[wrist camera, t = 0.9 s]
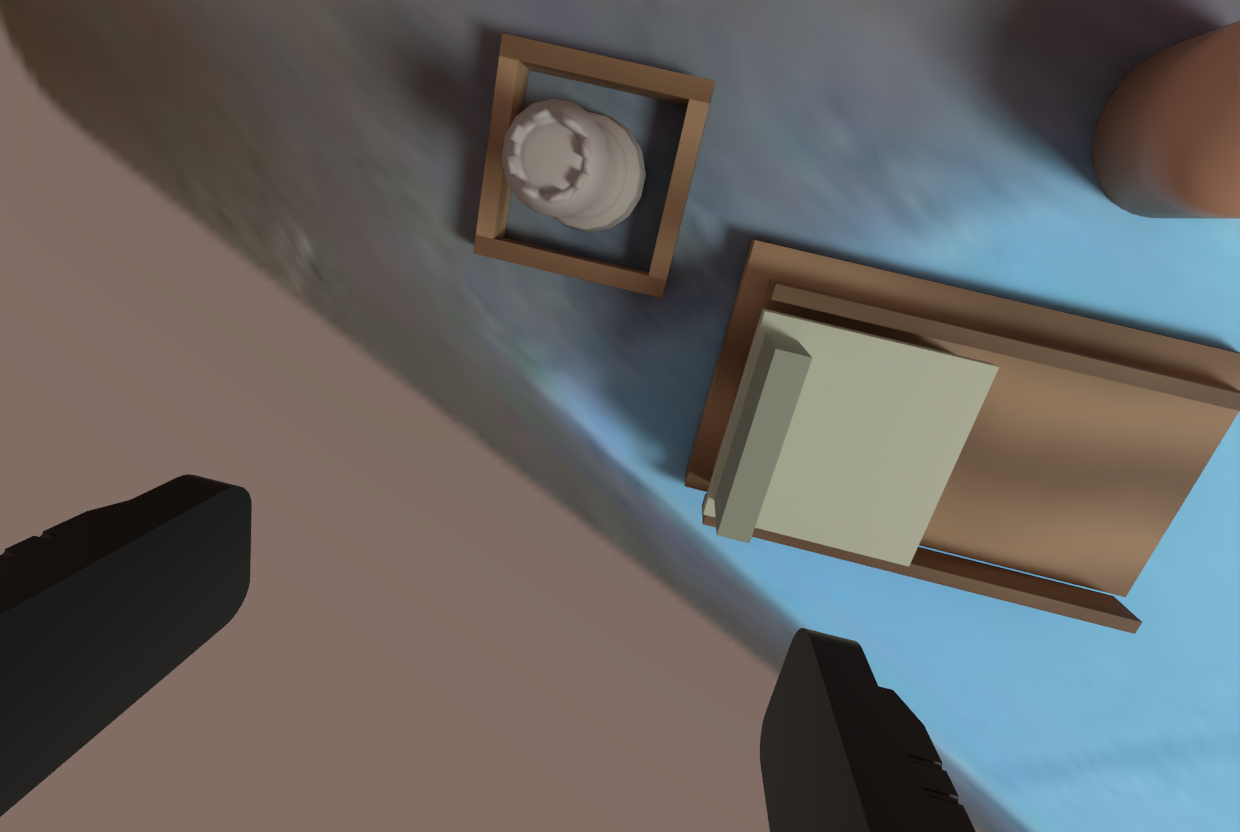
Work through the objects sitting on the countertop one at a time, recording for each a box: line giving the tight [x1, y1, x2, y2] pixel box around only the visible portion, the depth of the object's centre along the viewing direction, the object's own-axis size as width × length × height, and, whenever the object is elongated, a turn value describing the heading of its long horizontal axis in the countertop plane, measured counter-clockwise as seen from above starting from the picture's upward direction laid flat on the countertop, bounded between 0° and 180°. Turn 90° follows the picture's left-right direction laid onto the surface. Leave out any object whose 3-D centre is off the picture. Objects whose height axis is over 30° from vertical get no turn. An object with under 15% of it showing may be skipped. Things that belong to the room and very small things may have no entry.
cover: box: [703, 308, 999, 566], centre depth 22 cm, size 8×8×4 cm
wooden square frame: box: [473, 33, 715, 298], centre depth 24 cm, size 8×8×2 cm
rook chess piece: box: [502, 98, 646, 232], centre depth 21 cm, size 4×4×8 cm
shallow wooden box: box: [685, 239, 1240, 634], centre depth 25 cm, size 12×20×3 cm, turn 77°
